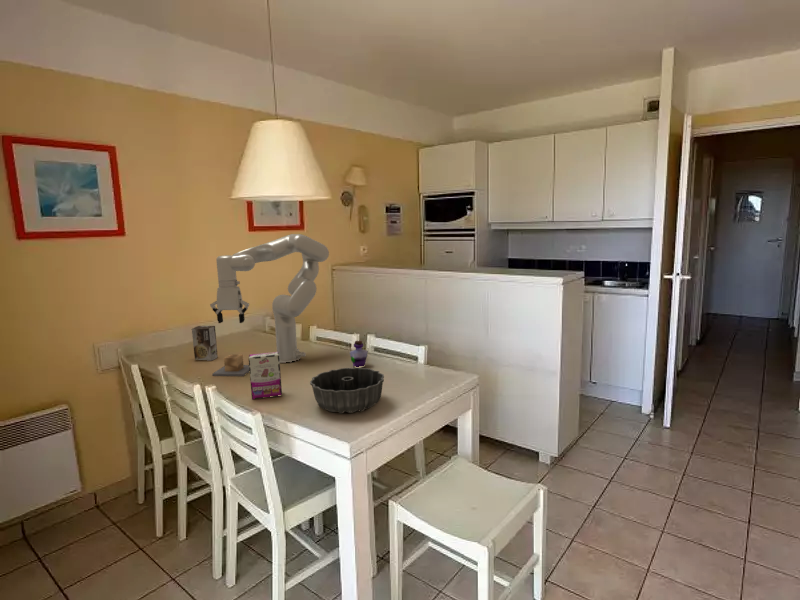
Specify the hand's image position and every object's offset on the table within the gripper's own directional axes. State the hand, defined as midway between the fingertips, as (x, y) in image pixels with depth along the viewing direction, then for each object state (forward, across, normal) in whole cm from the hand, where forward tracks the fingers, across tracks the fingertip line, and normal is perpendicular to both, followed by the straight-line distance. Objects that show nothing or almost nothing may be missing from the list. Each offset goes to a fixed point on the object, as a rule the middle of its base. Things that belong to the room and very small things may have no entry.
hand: (231, 322), depth 207 cm
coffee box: (+22, +23, -19) cm, 37 cm away
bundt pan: (+23, -59, +36) cm, 73 cm away
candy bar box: (+22, -26, +29) cm, 45 cm away
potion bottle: (+23, -55, -9) cm, 60 cm away
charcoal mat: (+22, 0, 0) cm, 22 cm away
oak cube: (+21, 0, 0) cm, 21 cm away
